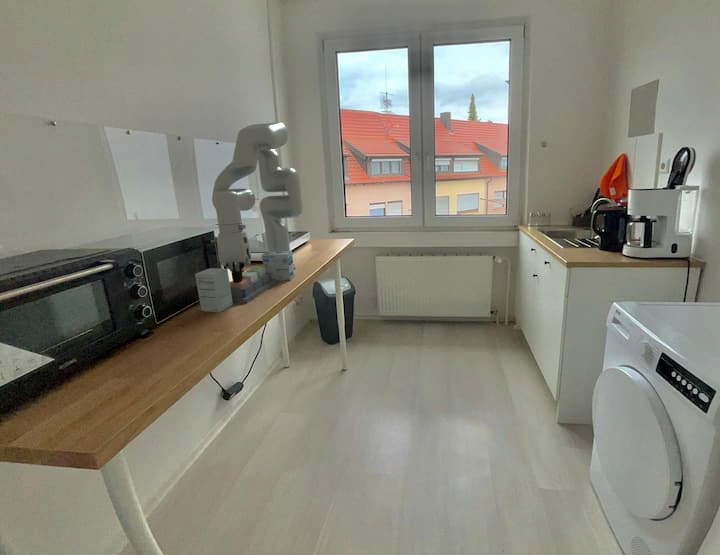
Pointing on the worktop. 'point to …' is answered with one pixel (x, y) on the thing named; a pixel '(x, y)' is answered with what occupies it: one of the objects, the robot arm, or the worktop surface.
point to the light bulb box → (279, 265)
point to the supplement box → (214, 289)
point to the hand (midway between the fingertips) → (238, 281)
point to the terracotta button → (239, 284)
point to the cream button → (250, 276)
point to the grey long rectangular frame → (252, 289)
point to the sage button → (258, 271)
